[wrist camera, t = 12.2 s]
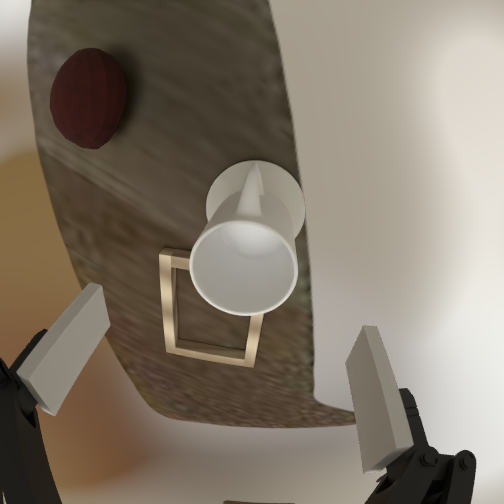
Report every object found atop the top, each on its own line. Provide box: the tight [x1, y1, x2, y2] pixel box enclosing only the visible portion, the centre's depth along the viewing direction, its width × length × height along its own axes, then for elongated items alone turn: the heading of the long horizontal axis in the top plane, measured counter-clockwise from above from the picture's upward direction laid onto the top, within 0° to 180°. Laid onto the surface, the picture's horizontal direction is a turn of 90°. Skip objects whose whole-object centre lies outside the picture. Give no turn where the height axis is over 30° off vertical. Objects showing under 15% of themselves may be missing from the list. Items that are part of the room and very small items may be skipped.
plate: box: [206, 160, 305, 239], centre depth 31 cm, size 11×11×1 cm
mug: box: [189, 162, 298, 316], centre depth 26 cm, size 9×12×11 cm
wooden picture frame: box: [159, 247, 264, 367], centre depth 38 cm, size 17×14×2 cm
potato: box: [50, 48, 127, 149], centre depth 23 cm, size 9×12×9 cm
